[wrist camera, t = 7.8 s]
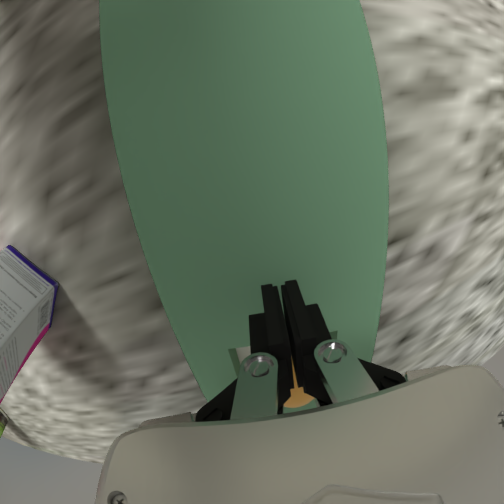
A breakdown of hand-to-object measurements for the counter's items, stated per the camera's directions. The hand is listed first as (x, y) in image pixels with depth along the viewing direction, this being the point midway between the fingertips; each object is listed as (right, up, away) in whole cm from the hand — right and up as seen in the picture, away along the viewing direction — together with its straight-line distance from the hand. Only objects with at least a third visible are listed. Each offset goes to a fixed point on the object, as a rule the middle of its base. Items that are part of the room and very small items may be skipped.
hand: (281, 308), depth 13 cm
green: (-1, +4, +2) cm, 4 cm away
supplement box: (-19, 0, +3) cm, 19 cm away
